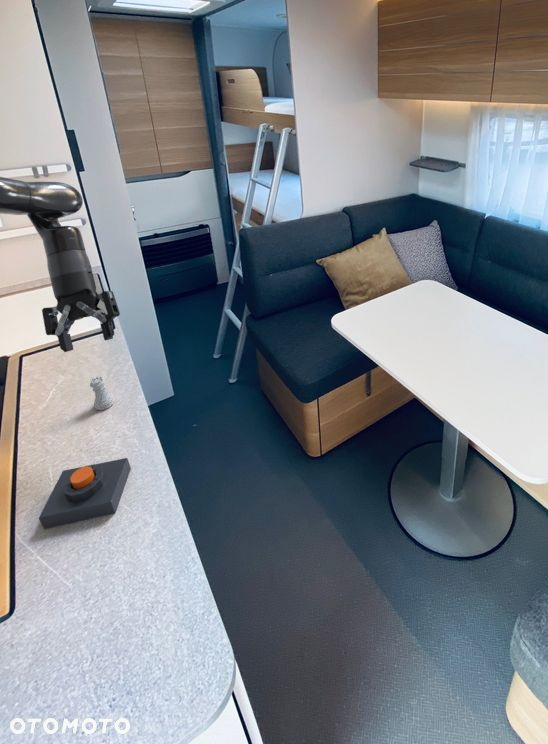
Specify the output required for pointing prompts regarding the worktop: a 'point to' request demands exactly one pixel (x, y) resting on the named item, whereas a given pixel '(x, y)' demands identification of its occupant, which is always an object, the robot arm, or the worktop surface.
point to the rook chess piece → (101, 394)
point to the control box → (86, 495)
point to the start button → (82, 477)
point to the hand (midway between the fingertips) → (89, 345)
